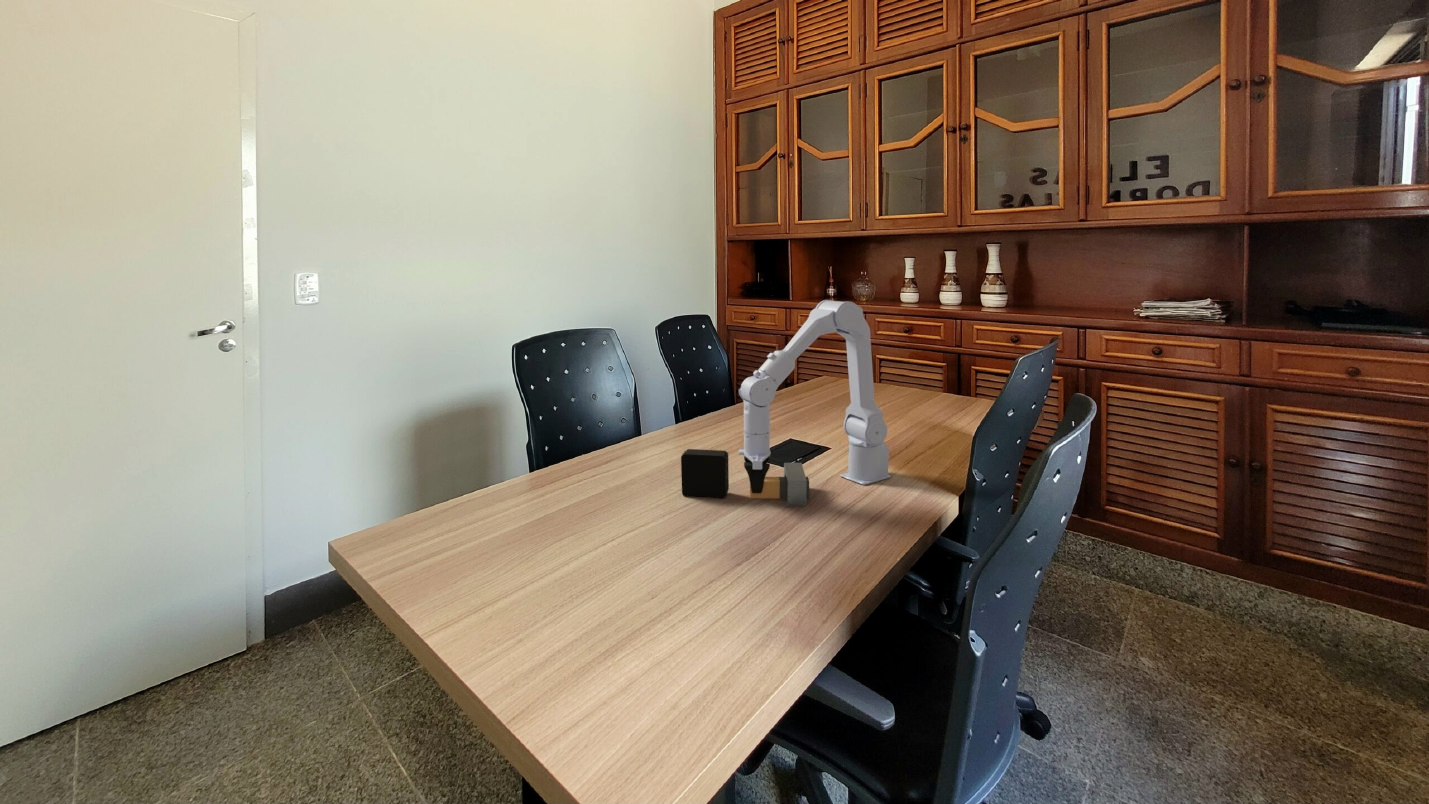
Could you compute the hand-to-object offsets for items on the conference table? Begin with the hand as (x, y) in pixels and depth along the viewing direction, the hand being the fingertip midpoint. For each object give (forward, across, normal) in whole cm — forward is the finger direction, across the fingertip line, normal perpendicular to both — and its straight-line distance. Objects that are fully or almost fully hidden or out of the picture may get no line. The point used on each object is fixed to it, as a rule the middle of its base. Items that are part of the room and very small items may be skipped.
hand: (756, 489), depth 137 cm
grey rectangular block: (+1, 0, +8) cm, 9 cm away
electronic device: (+2, -1, -12) cm, 12 cm away
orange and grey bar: (+1, 0, +5) cm, 5 cm away
